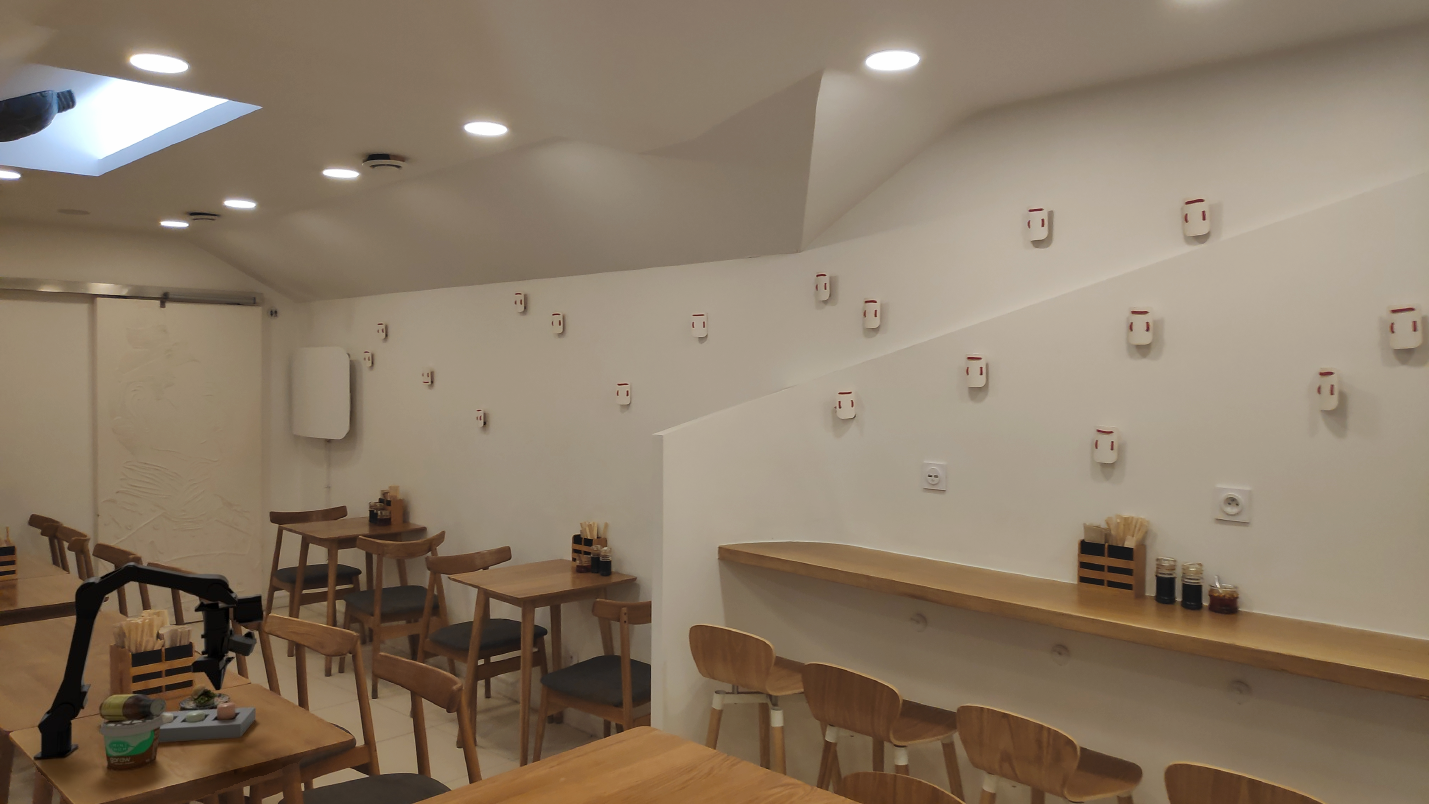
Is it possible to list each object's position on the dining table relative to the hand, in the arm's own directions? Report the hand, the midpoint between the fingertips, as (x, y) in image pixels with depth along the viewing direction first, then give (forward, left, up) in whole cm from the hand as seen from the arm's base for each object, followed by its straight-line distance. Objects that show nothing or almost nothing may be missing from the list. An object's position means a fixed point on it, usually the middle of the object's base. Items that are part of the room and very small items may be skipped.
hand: (218, 689), depth 220 cm
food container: (-20, +12, -10) cm, 26 cm away
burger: (+19, +9, -10) cm, 23 cm away
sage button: (0, +5, -8) cm, 10 cm away
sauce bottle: (+12, +29, -7) cm, 32 cm away
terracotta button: (0, -2, -7) cm, 7 cm away
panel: (0, +5, -10) cm, 11 cm away
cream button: (0, +12, -9) cm, 15 cm away
